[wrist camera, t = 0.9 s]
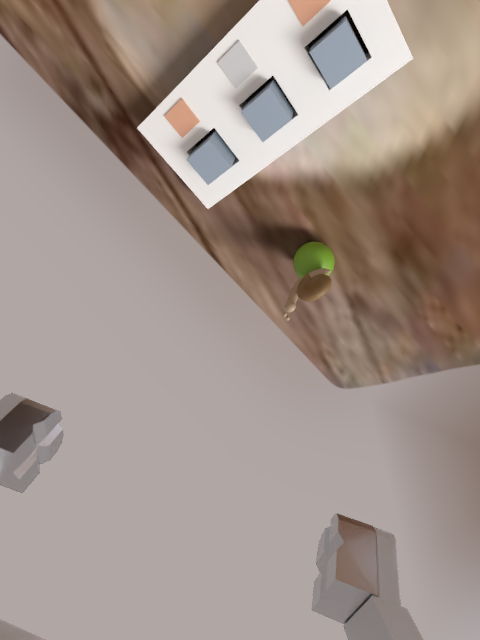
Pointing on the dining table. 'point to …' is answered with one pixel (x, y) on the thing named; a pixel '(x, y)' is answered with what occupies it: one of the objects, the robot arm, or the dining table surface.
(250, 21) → the button panel
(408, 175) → the dining table surface
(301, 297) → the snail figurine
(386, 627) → the robot arm
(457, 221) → the dining table surface
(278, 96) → the middle button
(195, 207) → the dining table surface
